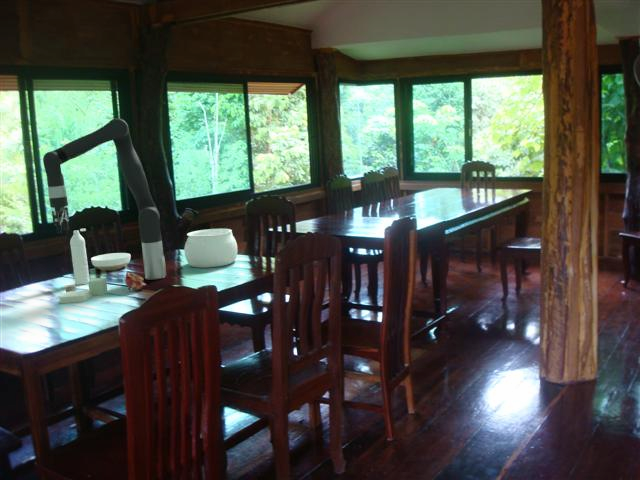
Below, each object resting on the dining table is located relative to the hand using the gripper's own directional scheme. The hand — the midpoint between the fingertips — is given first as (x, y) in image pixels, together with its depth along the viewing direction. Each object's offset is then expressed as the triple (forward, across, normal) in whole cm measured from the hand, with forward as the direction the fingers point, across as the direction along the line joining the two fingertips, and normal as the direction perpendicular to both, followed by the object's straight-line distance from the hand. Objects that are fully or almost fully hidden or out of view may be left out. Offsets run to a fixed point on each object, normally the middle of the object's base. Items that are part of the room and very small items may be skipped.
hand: (63, 231), depth 308 cm
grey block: (+26, -16, -6) cm, 31 cm away
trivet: (+26, -26, -11) cm, 38 cm away
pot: (+27, +33, -60) cm, 74 cm away
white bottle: (+26, +6, -4) cm, 27 cm away
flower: (+26, -16, -34) cm, 45 cm away
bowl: (+26, +38, -8) cm, 47 cm away
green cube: (+26, -17, -18) cm, 36 cm away
